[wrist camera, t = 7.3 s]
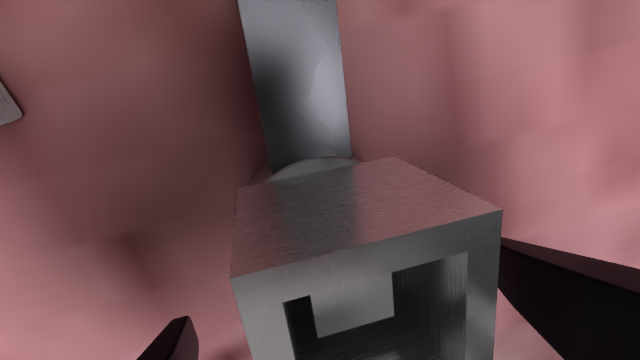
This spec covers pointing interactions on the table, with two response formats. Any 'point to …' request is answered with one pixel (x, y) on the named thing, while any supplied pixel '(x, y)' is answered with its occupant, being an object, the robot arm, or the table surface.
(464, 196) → the socket
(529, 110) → the table surface
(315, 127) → the ratchet
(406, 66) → the table surface
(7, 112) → the light bulb box
